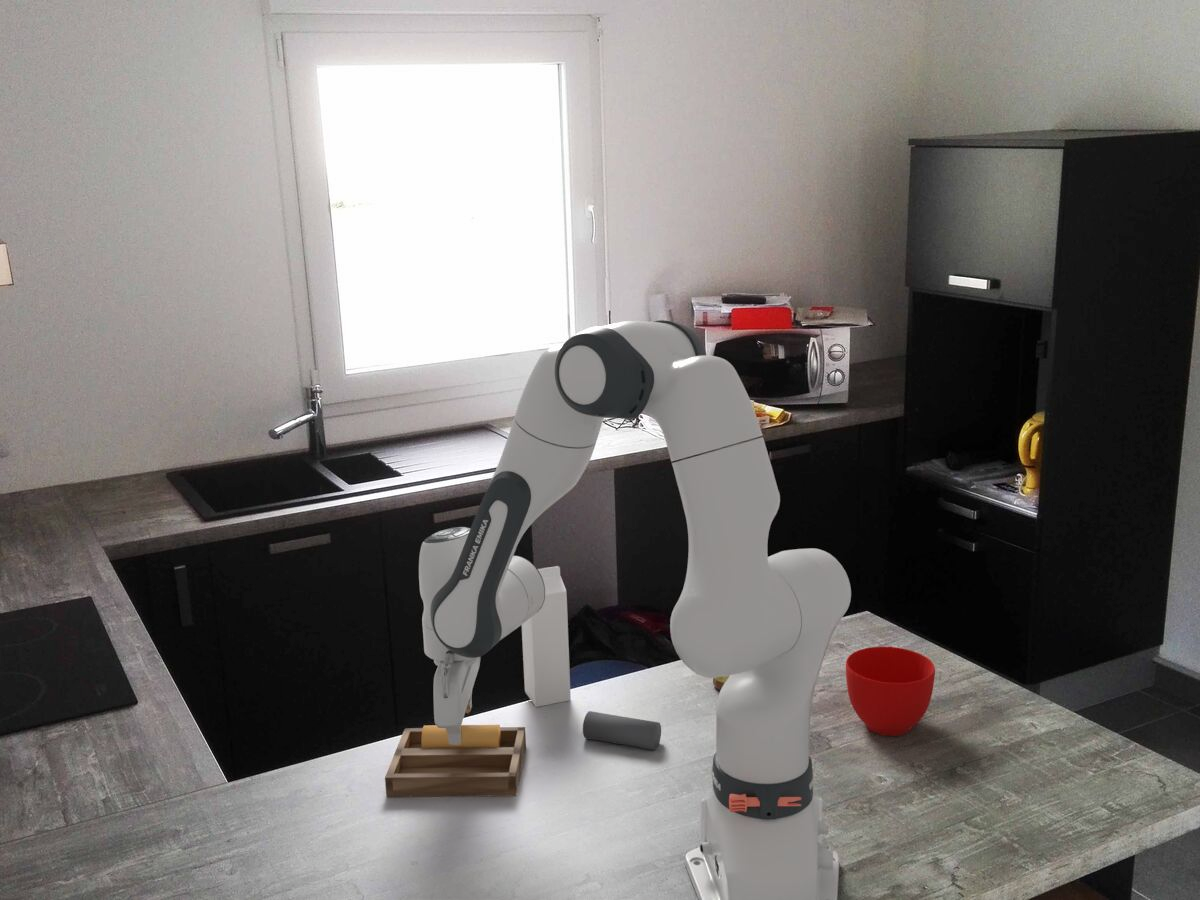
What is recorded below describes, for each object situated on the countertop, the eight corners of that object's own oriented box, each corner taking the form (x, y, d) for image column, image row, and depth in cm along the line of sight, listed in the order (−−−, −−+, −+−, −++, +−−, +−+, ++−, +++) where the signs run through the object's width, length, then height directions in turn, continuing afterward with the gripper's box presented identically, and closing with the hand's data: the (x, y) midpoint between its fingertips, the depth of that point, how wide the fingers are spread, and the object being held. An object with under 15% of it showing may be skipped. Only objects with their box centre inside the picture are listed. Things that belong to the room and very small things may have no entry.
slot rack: (516, 795, 160) (515, 776, 159) (386, 797, 161) (384, 777, 160) (526, 745, 173) (525, 727, 173) (406, 746, 174) (404, 728, 173)
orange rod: (501, 737, 172) (499, 718, 170) (498, 758, 169) (496, 740, 167) (427, 738, 173) (424, 719, 170) (423, 759, 169) (420, 740, 167)
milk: (524, 692, 191) (517, 565, 185) (559, 685, 193) (553, 559, 187) (535, 708, 185) (528, 577, 180) (571, 700, 187) (565, 571, 182)
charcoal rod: (658, 750, 173) (662, 723, 174) (650, 749, 169) (654, 721, 170) (590, 739, 177) (594, 712, 178) (580, 737, 173) (585, 710, 174)
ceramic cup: (930, 697, 184) (933, 639, 182) (933, 750, 169) (936, 687, 166) (847, 691, 188) (848, 633, 185) (842, 741, 172) (843, 679, 169)
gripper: (466, 669, 155) (472, 762, 159) (485, 610, 175) (490, 694, 179) (419, 670, 156) (426, 763, 159) (444, 611, 176) (450, 695, 179)
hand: (460, 726), depth 169 cm, fingers open, 8 cm apart
